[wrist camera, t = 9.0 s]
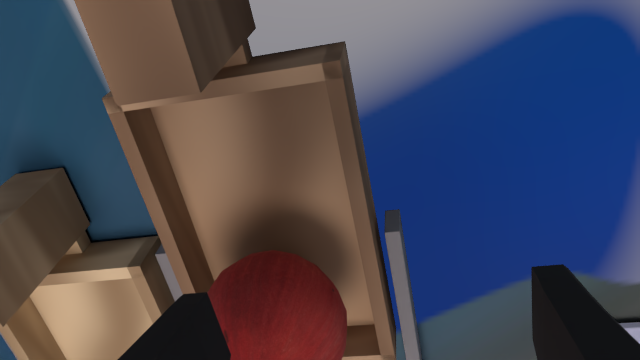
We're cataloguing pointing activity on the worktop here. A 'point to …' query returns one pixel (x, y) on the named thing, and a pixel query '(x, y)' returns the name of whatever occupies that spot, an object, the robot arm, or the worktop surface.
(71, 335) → the oak tray
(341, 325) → the onion
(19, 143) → the worktop surface
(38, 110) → the worktop surface
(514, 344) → the worktop surface
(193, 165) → the walnut tray
